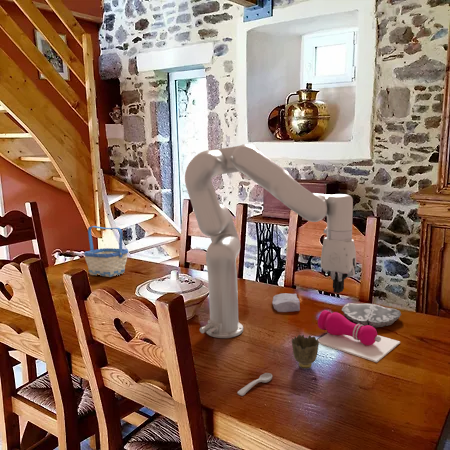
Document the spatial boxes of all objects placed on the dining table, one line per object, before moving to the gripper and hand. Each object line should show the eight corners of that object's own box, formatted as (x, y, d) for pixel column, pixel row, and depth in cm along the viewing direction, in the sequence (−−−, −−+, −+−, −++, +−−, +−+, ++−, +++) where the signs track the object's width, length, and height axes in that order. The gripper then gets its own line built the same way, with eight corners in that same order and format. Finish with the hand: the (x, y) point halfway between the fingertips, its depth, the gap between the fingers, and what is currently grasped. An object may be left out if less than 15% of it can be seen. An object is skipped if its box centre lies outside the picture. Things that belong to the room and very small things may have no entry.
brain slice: (337, 326, 154) (337, 318, 153) (345, 308, 169) (345, 300, 168) (399, 334, 146) (399, 326, 145) (401, 315, 161) (402, 307, 160)
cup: (320, 362, 129) (320, 336, 127) (316, 375, 122) (317, 347, 120) (294, 358, 131) (294, 333, 130) (289, 371, 124) (289, 344, 123)
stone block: (276, 317, 167) (302, 311, 166) (273, 305, 166) (299, 299, 166) (272, 306, 178) (297, 300, 178) (270, 295, 178) (294, 289, 177)
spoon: (275, 379, 121) (274, 373, 120) (243, 400, 113) (243, 393, 113) (266, 375, 123) (266, 369, 123) (235, 396, 115) (234, 389, 115)
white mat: (376, 362, 128) (376, 360, 128) (315, 342, 141) (315, 340, 141) (400, 343, 139) (400, 341, 139) (341, 326, 153) (341, 324, 153)
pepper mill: (317, 334, 147) (375, 356, 133) (316, 314, 144) (374, 335, 131) (329, 323, 152) (386, 343, 138) (328, 304, 149) (386, 323, 135)
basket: (134, 272, 222) (131, 225, 217) (110, 282, 208) (106, 232, 203) (104, 267, 232) (100, 222, 228) (79, 276, 218) (74, 228, 214)
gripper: (311, 233, 141) (311, 289, 145) (355, 240, 131) (354, 300, 134) (324, 229, 146) (323, 284, 150) (367, 235, 136) (366, 293, 140)
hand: (338, 291), depth 142 cm, fingers closed
